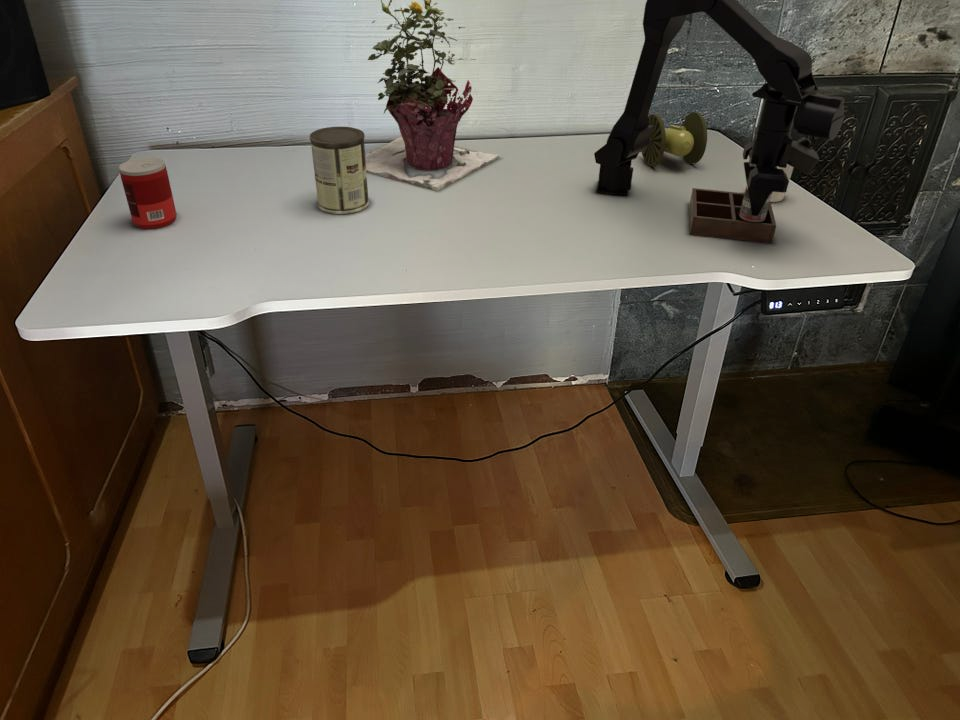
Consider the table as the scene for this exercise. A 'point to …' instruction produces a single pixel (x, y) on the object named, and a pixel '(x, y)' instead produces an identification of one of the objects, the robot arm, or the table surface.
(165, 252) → the table surface
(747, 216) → the pill bottle
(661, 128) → the cannon
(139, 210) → the canned food
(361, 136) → the coffee can
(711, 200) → the rack
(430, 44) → the potted flower
